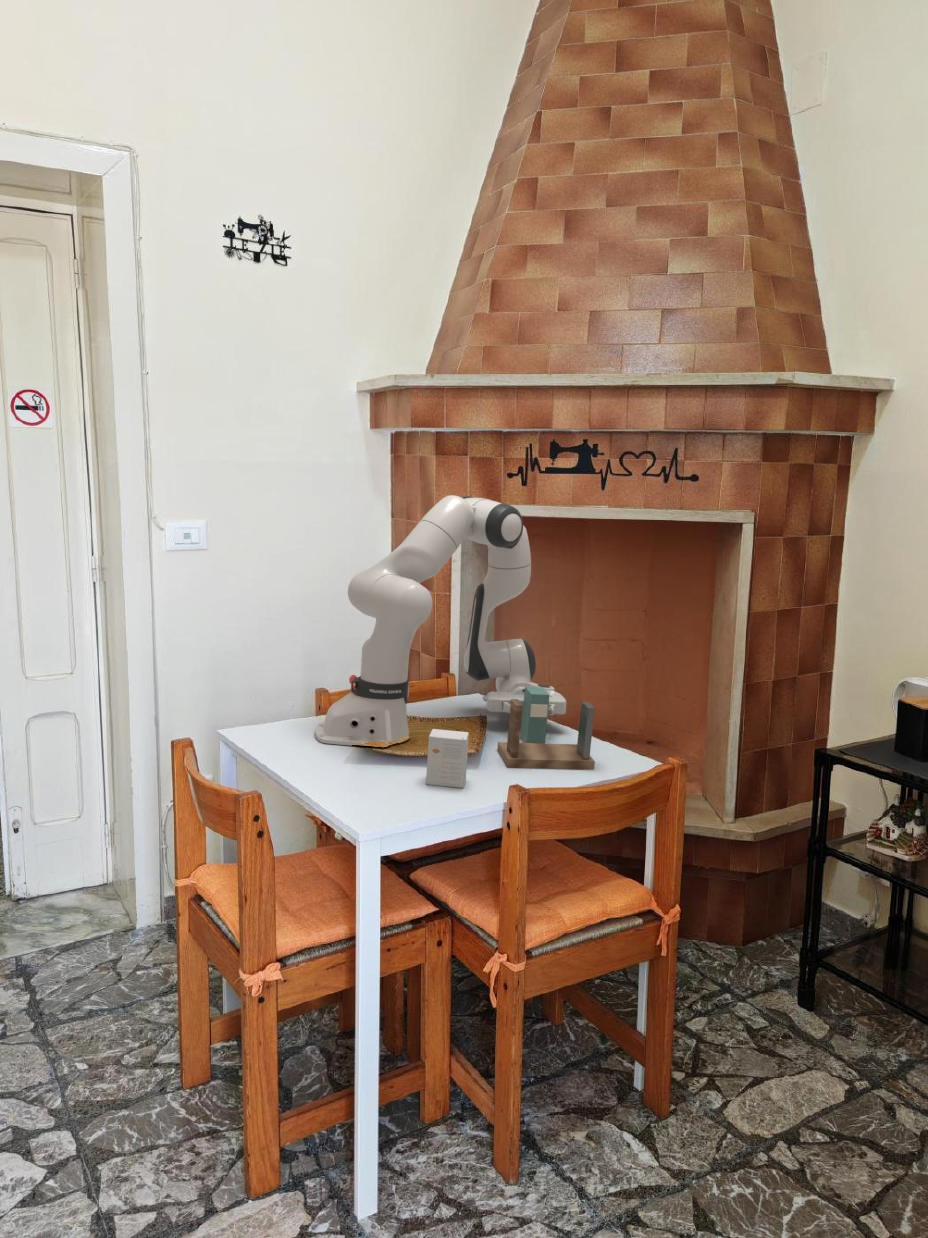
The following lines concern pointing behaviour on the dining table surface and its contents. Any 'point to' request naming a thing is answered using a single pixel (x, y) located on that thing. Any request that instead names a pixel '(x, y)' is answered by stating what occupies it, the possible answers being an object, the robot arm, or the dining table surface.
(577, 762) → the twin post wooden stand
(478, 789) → the dining table surface
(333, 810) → the dining table surface
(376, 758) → the dining table surface
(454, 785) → the small box
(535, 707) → the book
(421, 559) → the robot arm
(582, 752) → the bookend
